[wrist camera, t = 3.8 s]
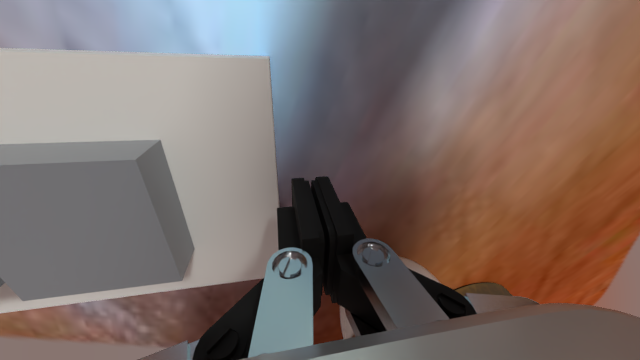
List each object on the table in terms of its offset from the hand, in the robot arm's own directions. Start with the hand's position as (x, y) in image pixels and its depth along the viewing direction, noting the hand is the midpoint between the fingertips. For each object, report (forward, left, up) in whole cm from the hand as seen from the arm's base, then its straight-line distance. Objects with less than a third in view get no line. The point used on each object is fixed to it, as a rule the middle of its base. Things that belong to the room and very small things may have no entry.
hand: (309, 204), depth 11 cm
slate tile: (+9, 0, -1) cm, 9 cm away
